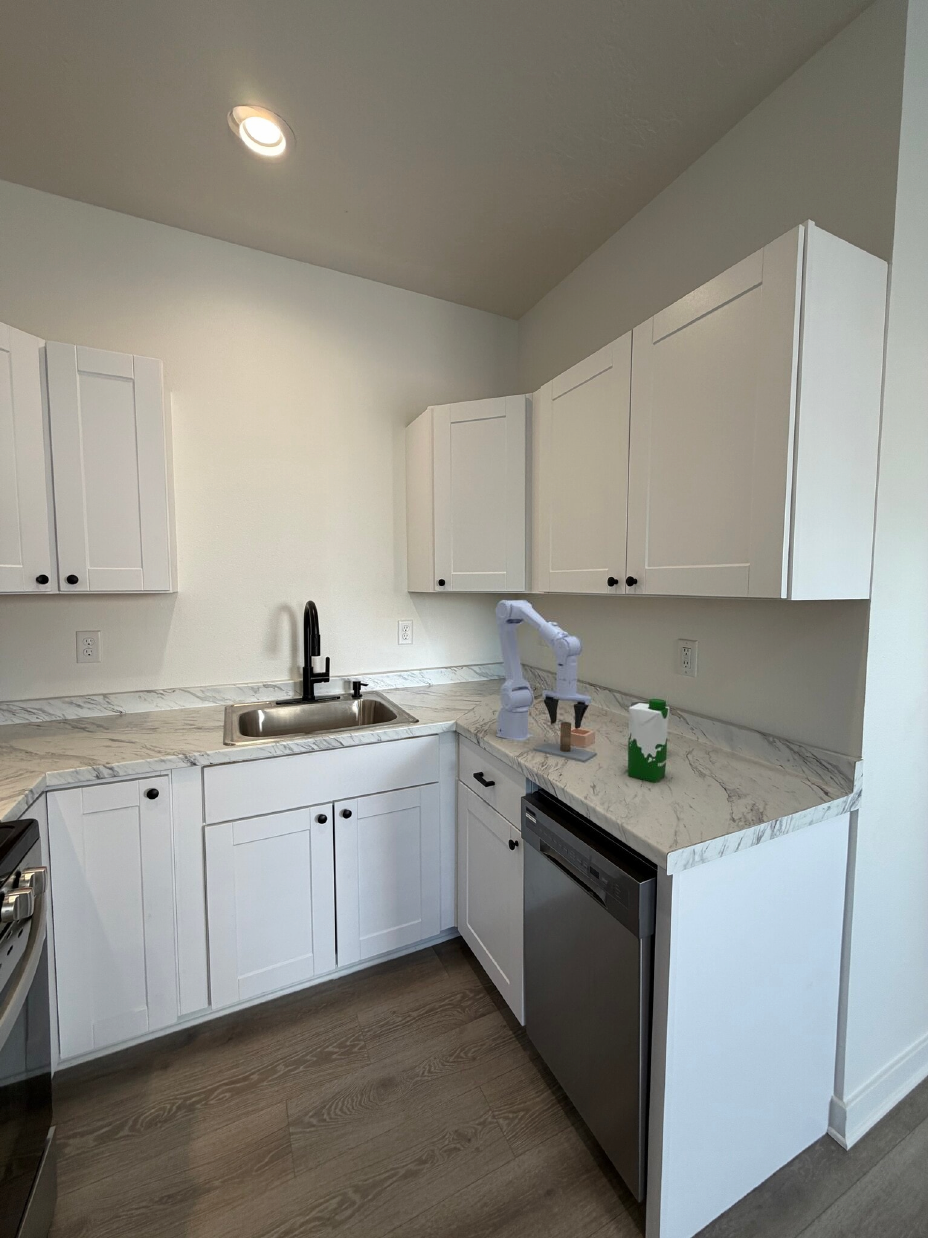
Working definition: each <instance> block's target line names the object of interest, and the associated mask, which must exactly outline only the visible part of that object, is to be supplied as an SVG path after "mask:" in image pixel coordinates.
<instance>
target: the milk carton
mask: <svg viewBox="0 0 928 1238" xmlns="http://www.w3.org/2000/svg"><path fill="white" fill-rule="evenodd" d="M648 702H649V704H643V703H638V704H636V705H634V706H632V707H631V706H630V707H628V742H627V743H628V744H627V745H628V746H627V747H628V749H627V775H628V777H631V778H633V779H639V780H643V781H646V782H647V781H648V782H650V783H654V784H656V783H657V782H659V781H660V780H661V779H662V778H663V777H664V776H666V767H667V766H666V765H667V754H668V753H667V751H668V749H667V748H668V725H669V724H668V723H669V713H670V707H669V706H668V707H666V706H667V701H666V700H665V699H659V698H650V699H649V701H648Z"/></svg>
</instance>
